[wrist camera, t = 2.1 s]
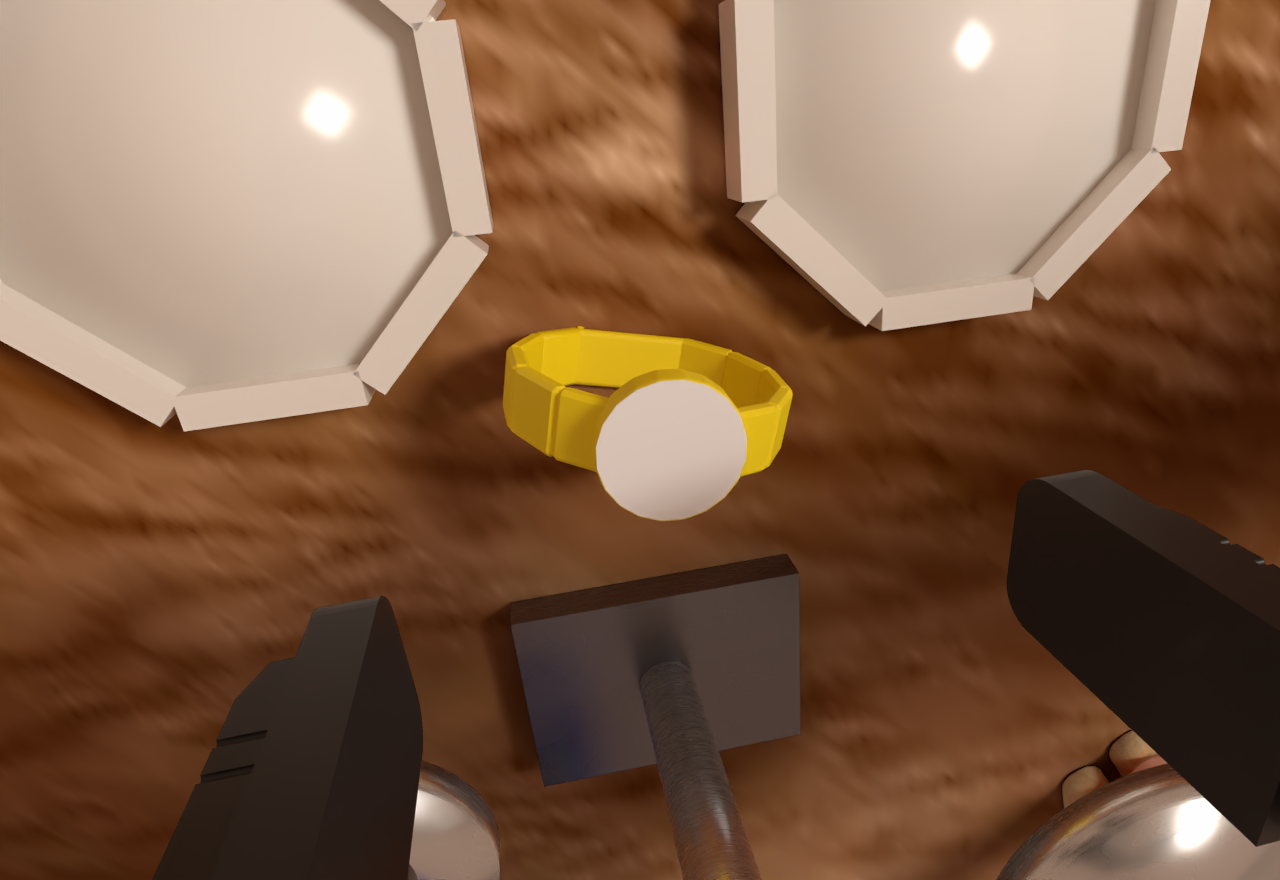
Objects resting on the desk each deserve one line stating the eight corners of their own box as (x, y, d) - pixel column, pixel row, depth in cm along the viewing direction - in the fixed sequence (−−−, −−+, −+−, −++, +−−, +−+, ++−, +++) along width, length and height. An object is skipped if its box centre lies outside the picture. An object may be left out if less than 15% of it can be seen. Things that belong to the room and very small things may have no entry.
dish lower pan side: (423, -181, 13) (415, -209, 12) (517, 367, 18) (518, 383, 17) (-219, -144, 12) (-290, -170, 11) (49, 433, 17) (17, 455, 15)
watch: (509, 398, 18) (484, 510, 13) (517, 288, 17) (494, 359, 12) (739, 421, 19) (808, 535, 14) (760, 318, 18) (844, 396, 13)
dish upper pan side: (1205, -227, 15) (1259, -253, 14) (1118, 282, 19) (1154, 292, 18) (709, -198, 14) (726, -225, 13) (733, 337, 18) (747, 350, 17)
